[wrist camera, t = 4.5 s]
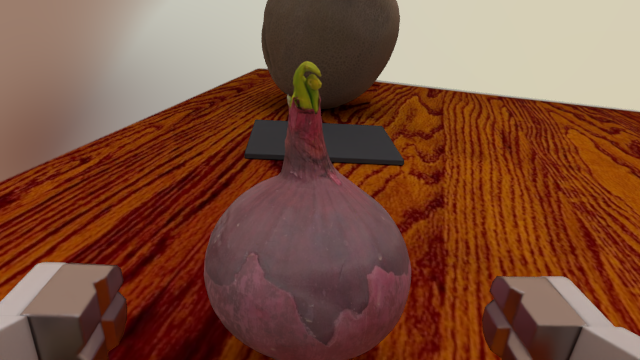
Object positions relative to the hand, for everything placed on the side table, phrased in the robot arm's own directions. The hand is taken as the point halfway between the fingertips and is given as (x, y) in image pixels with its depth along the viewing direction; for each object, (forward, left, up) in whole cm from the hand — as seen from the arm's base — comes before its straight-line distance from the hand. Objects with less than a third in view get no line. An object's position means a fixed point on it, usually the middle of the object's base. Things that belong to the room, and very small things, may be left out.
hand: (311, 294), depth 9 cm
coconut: (+3, +40, -6) cm, 40 cm away
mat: (+2, +26, -5) cm, 27 cm away
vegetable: (0, +4, -6) cm, 7 cm away
